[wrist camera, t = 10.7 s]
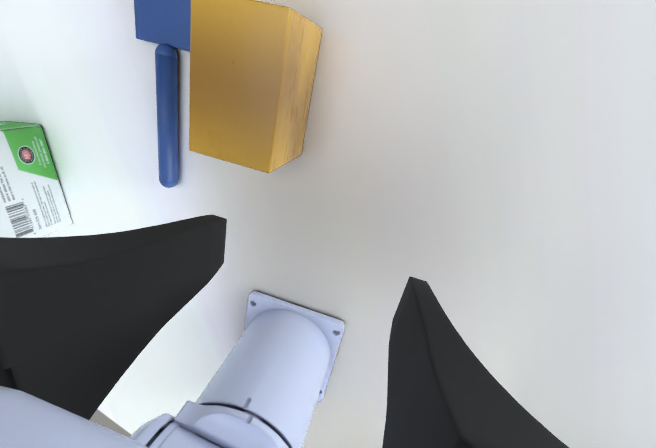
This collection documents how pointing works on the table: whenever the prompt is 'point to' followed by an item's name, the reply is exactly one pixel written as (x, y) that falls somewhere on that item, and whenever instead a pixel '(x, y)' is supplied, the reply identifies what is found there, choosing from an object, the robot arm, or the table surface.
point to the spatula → (165, 71)
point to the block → (250, 81)
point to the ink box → (28, 184)
